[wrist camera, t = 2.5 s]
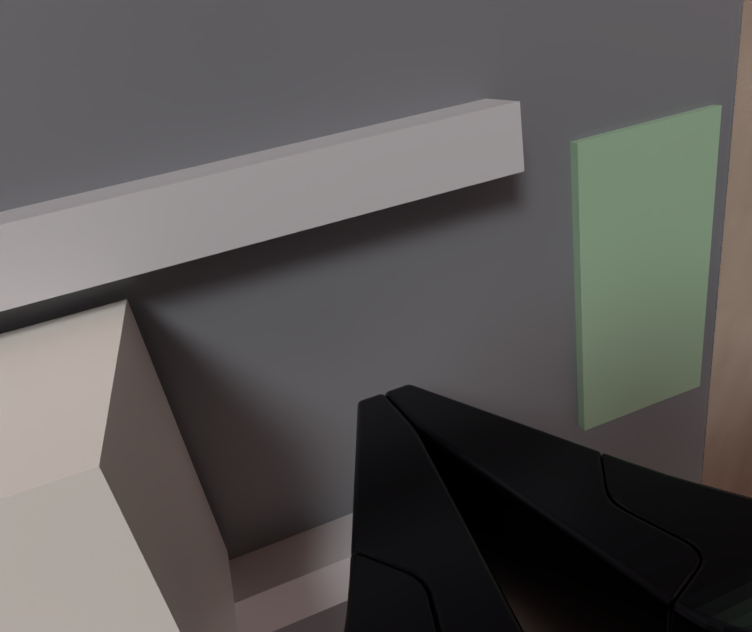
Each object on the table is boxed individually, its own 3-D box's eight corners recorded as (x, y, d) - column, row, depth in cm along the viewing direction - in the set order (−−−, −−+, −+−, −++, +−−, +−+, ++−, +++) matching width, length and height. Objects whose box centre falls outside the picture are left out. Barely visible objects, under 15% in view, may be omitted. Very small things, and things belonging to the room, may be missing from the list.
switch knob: (127, 298, 8) (99, 466, 5) (227, 551, 10) (259, 794, 7) (-199, 388, 7) (-529, 674, 4) (-15, 643, 10) (-121, 976, 6)
